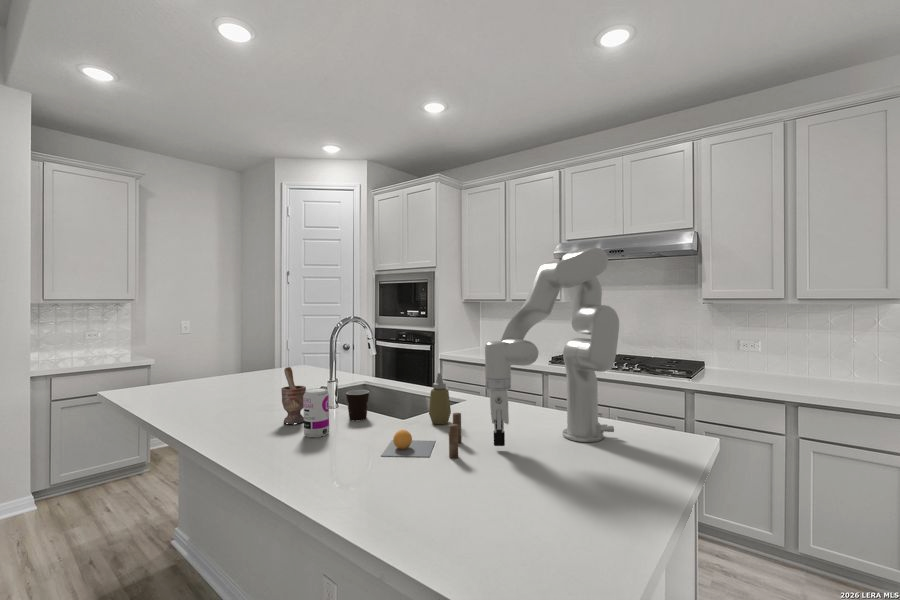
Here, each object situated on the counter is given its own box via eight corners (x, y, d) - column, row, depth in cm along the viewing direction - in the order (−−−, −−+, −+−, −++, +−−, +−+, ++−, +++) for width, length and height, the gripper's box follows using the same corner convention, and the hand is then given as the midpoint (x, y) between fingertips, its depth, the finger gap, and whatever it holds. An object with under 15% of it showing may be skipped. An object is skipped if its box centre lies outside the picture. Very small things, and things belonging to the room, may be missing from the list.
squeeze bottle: (441, 427, 153) (441, 376, 153) (424, 423, 158) (423, 374, 158) (455, 421, 159) (454, 372, 159) (438, 418, 164) (437, 370, 164)
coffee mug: (364, 422, 161) (363, 395, 161) (342, 421, 163) (342, 394, 163) (375, 413, 172) (375, 388, 172) (355, 413, 174) (355, 388, 174)
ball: (397, 447, 134) (415, 443, 134) (393, 453, 129) (411, 450, 128) (393, 429, 134) (411, 426, 134) (389, 435, 129) (408, 431, 128)
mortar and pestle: (271, 422, 162) (270, 369, 162) (291, 417, 170) (290, 366, 170) (291, 426, 156) (291, 371, 156) (311, 421, 164) (310, 368, 164)
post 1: (461, 441, 137) (461, 412, 137) (461, 443, 135) (460, 414, 135) (453, 440, 138) (453, 412, 138) (452, 443, 135) (452, 414, 135)
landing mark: (435, 441, 138) (435, 440, 138) (429, 457, 124) (429, 456, 124) (392, 440, 139) (392, 440, 139) (380, 456, 125) (380, 455, 125)
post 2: (458, 455, 125) (458, 424, 125) (458, 458, 122) (457, 426, 122) (449, 455, 125) (449, 423, 125) (448, 458, 122) (448, 426, 123)
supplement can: (332, 431, 150) (332, 387, 150) (323, 438, 142) (322, 393, 142) (310, 430, 151) (309, 387, 151) (299, 438, 143) (299, 392, 143)
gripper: (512, 388, 121) (513, 454, 121) (509, 378, 136) (510, 437, 136) (485, 388, 122) (486, 453, 122) (485, 378, 137) (486, 437, 137)
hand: (499, 444), depth 129 cm, fingers closed
